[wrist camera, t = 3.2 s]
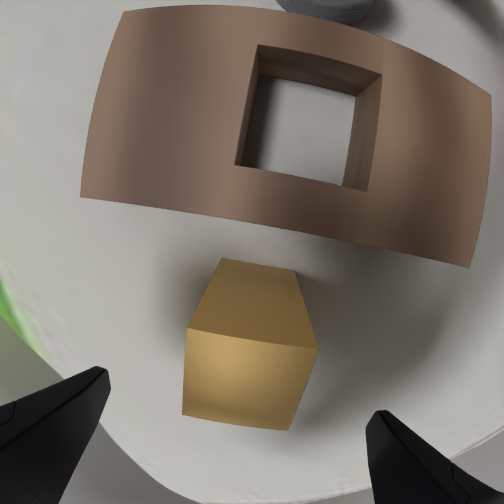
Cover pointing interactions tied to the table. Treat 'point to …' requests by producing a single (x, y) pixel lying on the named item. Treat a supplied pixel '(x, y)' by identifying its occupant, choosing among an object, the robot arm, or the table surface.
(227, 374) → the square peg
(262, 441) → the table surface
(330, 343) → the table surface
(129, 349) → the table surface
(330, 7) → the round peg
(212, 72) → the bore block
